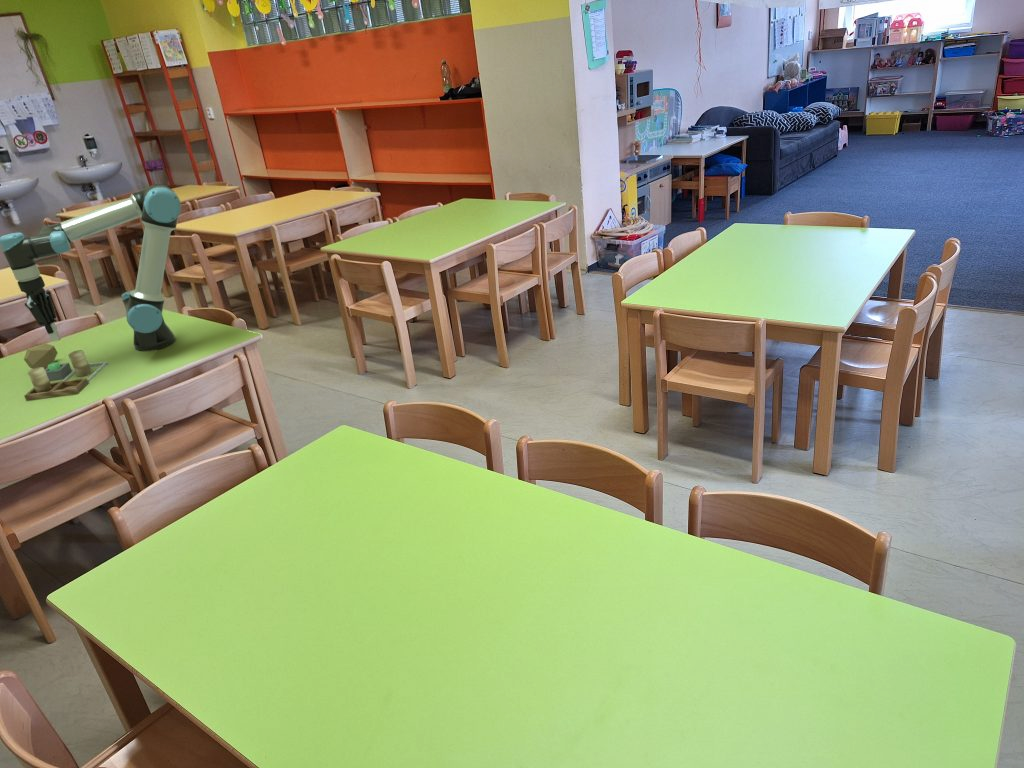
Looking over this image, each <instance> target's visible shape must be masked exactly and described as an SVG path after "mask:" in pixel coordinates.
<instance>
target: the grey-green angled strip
mask: <svg viewBox="0 0 1024 768" xmlns="http://www.w3.org/2000/svg"><path fill="white" fill-rule="evenodd" d="M108 365H109V362H108V361H101V362H93V363H89V366H90V368H91V369H92V368H96V367H97V369H96V370H95V371H94V372H92V373H91V374H90V376H89V377H88V378H87V379H88V382H89V383H90V381H91V380H93V378H94V377H96V375H98V373H99V372H101V371H102V370H103V368H105V366H108ZM74 375H76V372H75V370H74V369H73V370H72V372H71V373H70V374H69V375H68V376H67V377H66V378H64V379H62V381H67V380H70V378H72V376H74Z"/></svg>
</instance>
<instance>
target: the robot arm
mask: <svg viewBox="0 0 1024 768" xmlns="http://www.w3.org/2000/svg"><path fill="white" fill-rule="evenodd" d="M181 211H182V204H181V200H180V198H179V196H178V194H177V193H176V192H175V191H174V190H173V189H172V188H171V187H169V186H167V185H165V184H162V183H157V184H152V185H150V186H149V185H148V186H147V187H144V188H143V189H140V190H138V191H137V192H133V193H131V194H130V197H129V198H126V199H125V198H124V199H121V200H120V201H117V202H115V203H110V204H109V205H105V206H102V207H100V208H97V209H95V210H92V211H89V212H86V213H84V214H81V215H78V216H76V217H75V216H74V217H73V218H69V219H67V220H63V221H61V222H60V223H59V222H58V223H56V224H52V225H45V226H44V227H42V228H41V229H40V230H39V232H38V234H36V235H33V236H25V235H24V234H23V233H22V232H12V233H8V234H4V235H2V236H0V247H1V249H2V253H3V255H4V257H5V259H6V261H7V263H8V265H9V267H10V270H11V271H12V273H13V276H14V278H15V280H16V281H17V286H18V287H19V288H18V289H20V292H22V293H25V295H26V299H27V301H26V302H25V303H24V306H25V307H26V308H27V309H28V310H29V311H30V314H31V315H32V316H33V318H34V319H35V321H36V323H37V324H38V326H41V327H44V328H45V330H46V333H47V334H48V336H49V339H50V341H51V342H52V343H53V342H59V341H61V340H62V338H61V335H60V333H59V330H58V329H57V326H56V324H55V323H56V322H57V314H56V311H55V307H54V304H53V301H52V295H51V294H52V293H51V291H50V290H49V291H48V290H47V291H46V290H45V288H44V287H46V284H45V282H44V279H43V277H42V275H41V272H40V269H39V267H38V265H37V263H36V261H35V260H37V259H41V258H42V259H43V258H47V257H51V256H56V255H63V254H64V253H68V252H70V251H71V249H72V248H71V243H74V242H75V241H80V240H81V239H84V238H86V237H90V236H92V235H95V234H97V233H100V232H103V231H106V230H108V229H111V228H114V227H117V226H120V225H122V224H125V223H128V222H130V221H133V220H136V219H140V218H141V220H140V221H141V223H142V224H143V225H144V230H143V237H142V244H141V250H140V256H139V262H138V263H139V264H138V271H137V276H136V281H135V289H132V290H129V291H126V292H123V293H122V294H121V301H122V303H123V305H124V308H125V313H126V322H127V323H128V326H130V328H131V329H132V330H133V347H134V349H135V351H138V352H150V351H155V350H156V351H157V350H161V349H163V348H166V347H168V346H171V345H172V344H173V343H174V342H175V341H176V337H175V334H174V333H173V331H172V330H171V328H170V327H169V325H167V324H166V322H165V319H164V316H163V309H164V305H165V304H164V303H165V298H164V296H163V295H162V293H161V292H162V287H163V282H164V276H165V275H164V274H165V270H166V269H165V268H166V263H167V257H168V253H169V252H168V251H169V245H170V240H171V232H172V231H175V229H177V224H178V219H179V216H180V214H181V213H182V212H181Z"/></svg>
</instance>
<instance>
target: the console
mask: <svg viewBox="0 0 1024 768" xmlns="http://www.w3.org/2000/svg"><path fill="white" fill-rule="evenodd" d="M59 364H60V366H61V367H60V368H59V369H58V370H51V371H49V368H48V367H47V368H46V369H45V372H46V374H47V376H48V378H49V381H50V382H56V381H63V380H64V379H65V378H66V377H67V376H68V375H69V374H70V373H71V372H72V371H73V369H72V367H71V365H70V363H69V362H66V363H65V362H64V363H59Z"/></svg>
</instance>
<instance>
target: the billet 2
mask: <svg viewBox="0 0 1024 768" xmlns="http://www.w3.org/2000/svg"><path fill="white" fill-rule="evenodd" d="M68 357H69V359H70V360H69V361H70V363H71V365H72V368H73V371H74V370H75V372H76V373H75V375H76V377H77V378H83V377H84V378H85V377H86V376H89V375H92V374H93V370H92V367H91V368H90V366H89V364H90V363H89V361H88V359H87V356H86V354H85V351H84V350H83V349H80V350H79V349H78V350H74V351H71V352H69V354H68Z"/></svg>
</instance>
